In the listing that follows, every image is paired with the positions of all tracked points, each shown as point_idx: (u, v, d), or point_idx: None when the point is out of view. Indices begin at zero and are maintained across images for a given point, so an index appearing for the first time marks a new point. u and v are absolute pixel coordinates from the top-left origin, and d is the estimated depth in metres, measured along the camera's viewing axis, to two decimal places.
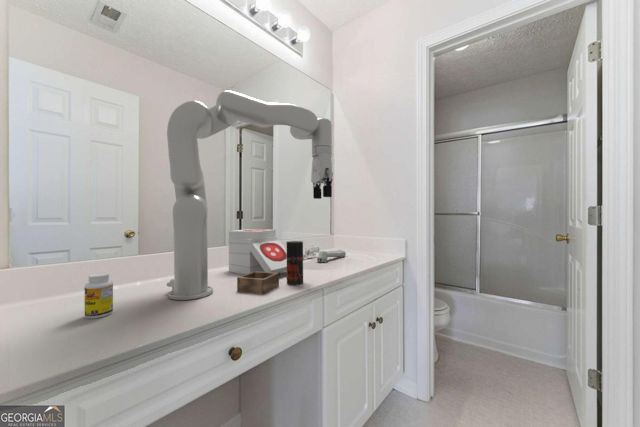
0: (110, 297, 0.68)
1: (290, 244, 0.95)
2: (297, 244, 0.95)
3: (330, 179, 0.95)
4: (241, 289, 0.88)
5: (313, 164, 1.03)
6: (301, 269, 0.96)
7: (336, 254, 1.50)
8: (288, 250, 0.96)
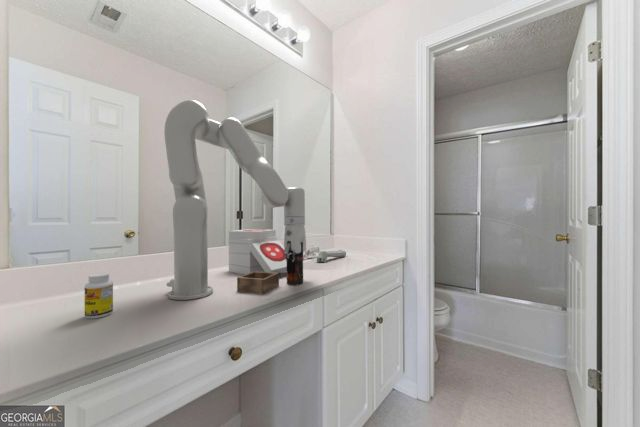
0: (110, 297, 0.68)
1: None
2: None
3: None
4: (241, 289, 0.88)
5: (299, 233, 0.95)
6: (301, 269, 0.96)
7: (336, 254, 1.50)
8: None
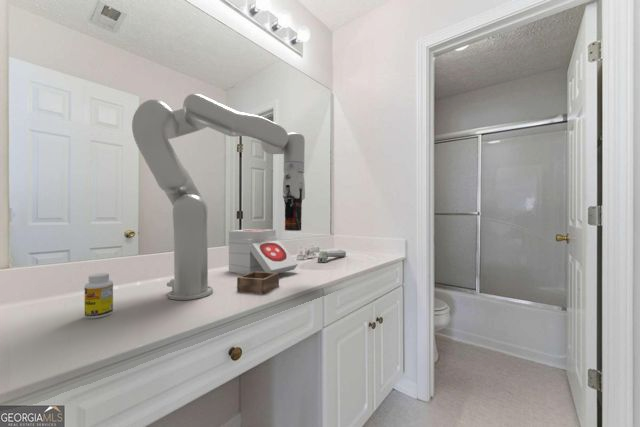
0: (110, 297, 0.68)
1: None
2: None
3: None
4: (241, 289, 0.88)
5: (298, 179, 0.95)
6: (299, 215, 0.96)
7: (336, 254, 1.50)
8: None
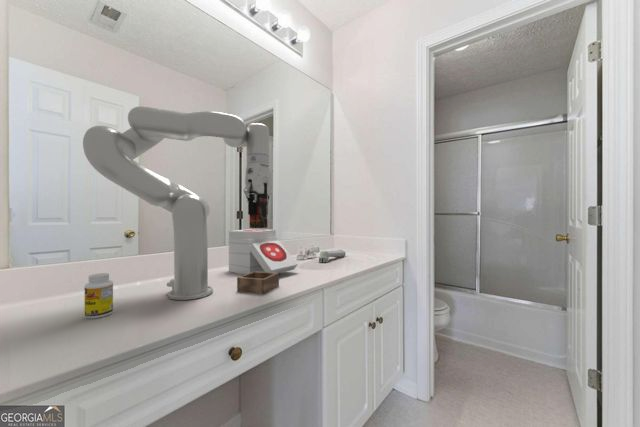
0: (110, 297, 0.68)
1: None
2: None
3: None
4: (241, 289, 0.88)
5: (262, 173, 0.89)
6: (264, 212, 0.90)
7: (337, 254, 1.50)
8: None
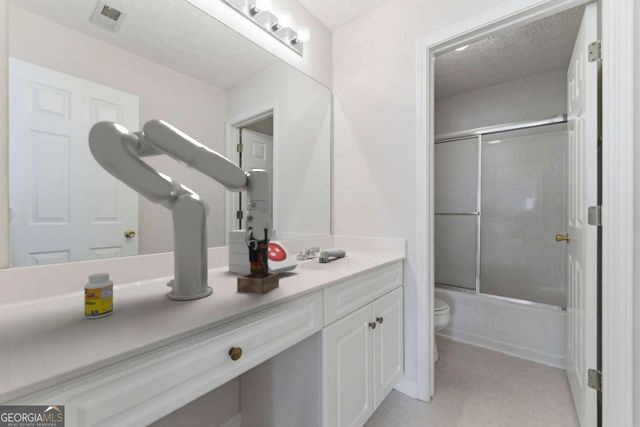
0: (110, 297, 0.68)
1: None
2: None
3: None
4: (241, 289, 0.88)
5: (263, 219, 0.89)
6: (265, 257, 0.90)
7: (337, 254, 1.50)
8: None
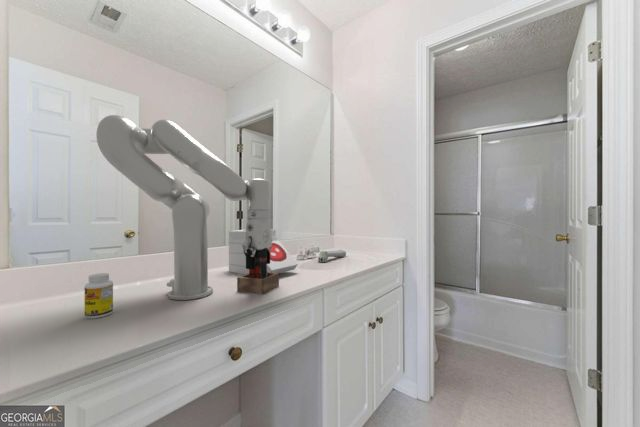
0: (110, 297, 0.68)
1: None
2: None
3: None
4: (241, 289, 0.88)
5: (262, 228, 0.89)
6: (264, 271, 0.90)
7: (337, 254, 1.50)
8: None
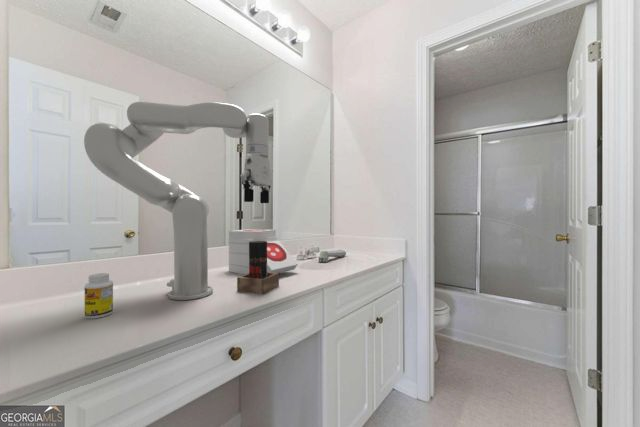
0: (110, 297, 0.68)
1: (252, 244, 0.89)
2: (259, 244, 0.89)
3: None
4: (241, 289, 0.88)
5: (261, 163, 0.89)
6: (264, 271, 0.90)
7: (337, 254, 1.50)
8: (250, 251, 0.89)
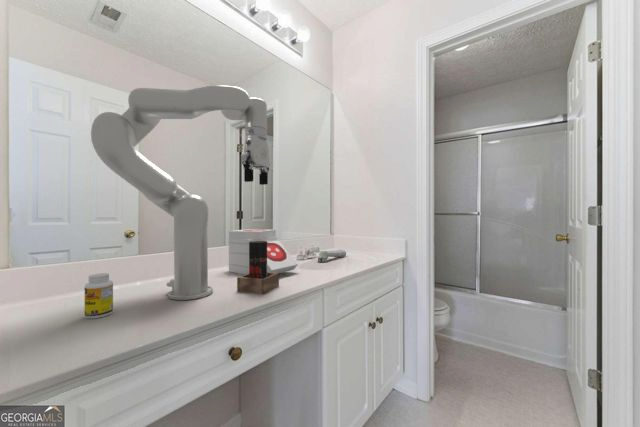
0: (110, 297, 0.68)
1: (252, 244, 0.89)
2: (259, 244, 0.89)
3: None
4: (241, 289, 0.88)
5: (260, 145, 0.94)
6: (264, 271, 0.90)
7: (337, 254, 1.50)
8: (250, 251, 0.89)
